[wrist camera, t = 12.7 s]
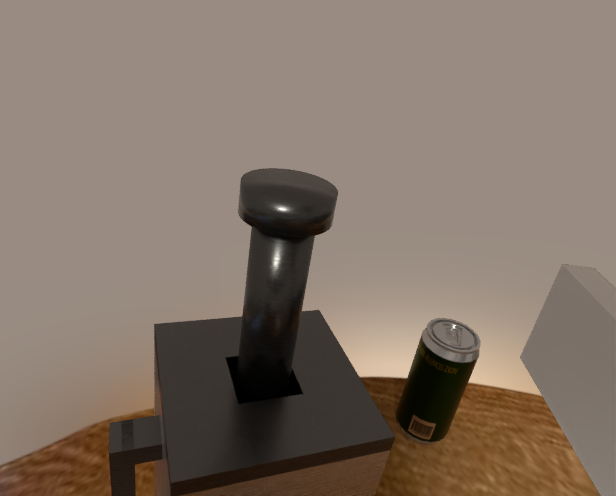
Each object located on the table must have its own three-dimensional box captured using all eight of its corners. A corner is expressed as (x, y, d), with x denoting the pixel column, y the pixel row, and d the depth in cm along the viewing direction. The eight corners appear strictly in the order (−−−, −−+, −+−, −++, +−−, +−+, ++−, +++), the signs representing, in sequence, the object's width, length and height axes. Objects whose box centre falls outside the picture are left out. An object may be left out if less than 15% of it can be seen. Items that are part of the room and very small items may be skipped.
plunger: (276, 484, 38) (336, 159, 26) (309, 588, 32) (410, 222, 19) (176, 507, 35) (188, 153, 23) (189, 627, 29) (216, 224, 16)
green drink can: (447, 453, 46) (487, 360, 40) (393, 438, 46) (425, 344, 41) (444, 413, 51) (479, 324, 45) (395, 400, 51) (424, 311, 46)
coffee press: (286, 477, 41) (319, 310, 33) (333, 618, 32) (395, 436, 24) (119, 514, 36) (108, 327, 28) (119, 693, 27) (104, 496, 19)
